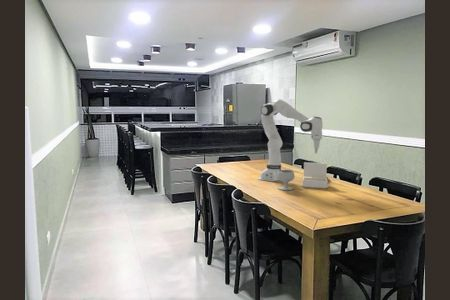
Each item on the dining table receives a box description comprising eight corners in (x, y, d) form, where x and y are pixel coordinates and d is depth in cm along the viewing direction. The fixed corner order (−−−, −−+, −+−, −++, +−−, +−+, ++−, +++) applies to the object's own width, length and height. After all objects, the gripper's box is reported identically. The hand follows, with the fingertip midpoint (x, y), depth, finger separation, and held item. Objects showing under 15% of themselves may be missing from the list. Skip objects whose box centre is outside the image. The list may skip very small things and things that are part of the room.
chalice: (297, 189, 267) (298, 171, 265) (284, 191, 260) (284, 173, 258) (286, 186, 279) (287, 169, 277) (273, 188, 272) (273, 170, 271)
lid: (303, 162, 283) (303, 162, 283) (303, 176, 288) (303, 176, 289) (326, 163, 278) (326, 163, 279) (326, 177, 283) (326, 177, 284)
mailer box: (302, 187, 276) (302, 180, 275) (302, 183, 289) (302, 177, 289) (327, 188, 271) (327, 181, 271) (326, 185, 285) (326, 178, 284)
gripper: (312, 135, 282) (311, 151, 284) (312, 137, 263) (312, 154, 264) (319, 135, 281) (319, 151, 282) (321, 137, 261) (320, 154, 263)
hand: (315, 152), depth 273 cm, fingers open, 4 cm apart
